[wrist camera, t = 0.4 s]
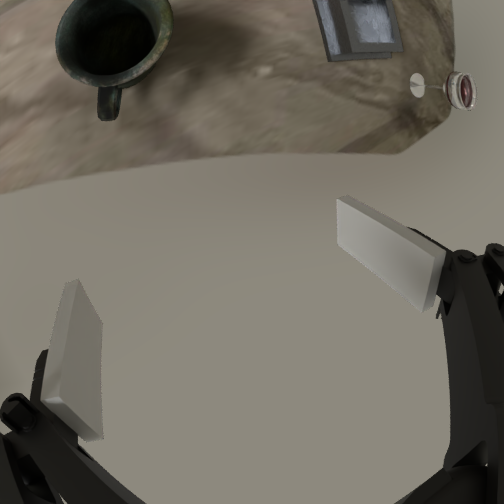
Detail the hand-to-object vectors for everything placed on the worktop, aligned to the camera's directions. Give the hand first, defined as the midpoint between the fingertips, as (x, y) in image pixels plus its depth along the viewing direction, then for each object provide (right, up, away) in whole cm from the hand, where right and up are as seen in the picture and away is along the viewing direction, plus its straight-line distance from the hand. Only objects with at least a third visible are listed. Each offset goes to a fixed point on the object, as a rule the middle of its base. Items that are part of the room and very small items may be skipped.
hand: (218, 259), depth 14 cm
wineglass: (+33, +32, +30) cm, 55 cm away
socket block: (+17, +36, +21) cm, 45 cm away
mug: (-15, +23, +15) cm, 31 cm away
